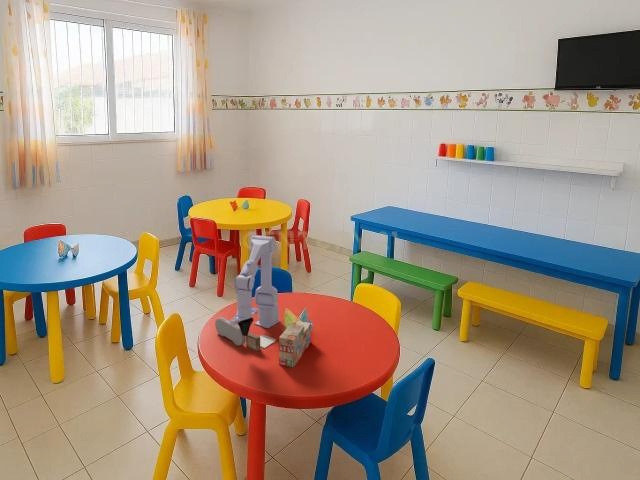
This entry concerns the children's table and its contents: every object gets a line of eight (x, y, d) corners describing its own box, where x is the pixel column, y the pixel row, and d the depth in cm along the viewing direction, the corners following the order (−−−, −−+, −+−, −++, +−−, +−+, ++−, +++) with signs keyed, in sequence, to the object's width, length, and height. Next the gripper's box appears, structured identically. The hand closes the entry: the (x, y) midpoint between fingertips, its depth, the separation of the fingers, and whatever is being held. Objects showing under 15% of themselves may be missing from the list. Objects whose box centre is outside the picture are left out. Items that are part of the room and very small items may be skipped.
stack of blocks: (297, 339, 202) (297, 314, 199) (310, 342, 201) (311, 316, 197) (278, 364, 183) (279, 336, 179) (293, 367, 181) (294, 339, 177)
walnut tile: (249, 345, 196) (249, 332, 195) (260, 349, 193) (260, 336, 192) (246, 347, 195) (245, 334, 193) (257, 351, 192) (257, 338, 190)
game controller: (246, 346, 195) (246, 329, 193) (242, 348, 194) (241, 330, 191) (219, 330, 208) (219, 314, 206) (215, 332, 206) (214, 315, 204)
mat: (261, 335, 205) (261, 334, 204) (276, 341, 200) (276, 339, 200) (249, 343, 198) (249, 341, 198) (264, 348, 194) (264, 347, 194)
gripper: (248, 295, 192) (249, 325, 195) (224, 307, 180) (225, 339, 184) (262, 300, 188) (262, 330, 192) (237, 312, 176) (238, 344, 180)
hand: (244, 334), depth 188 cm, fingers closed
